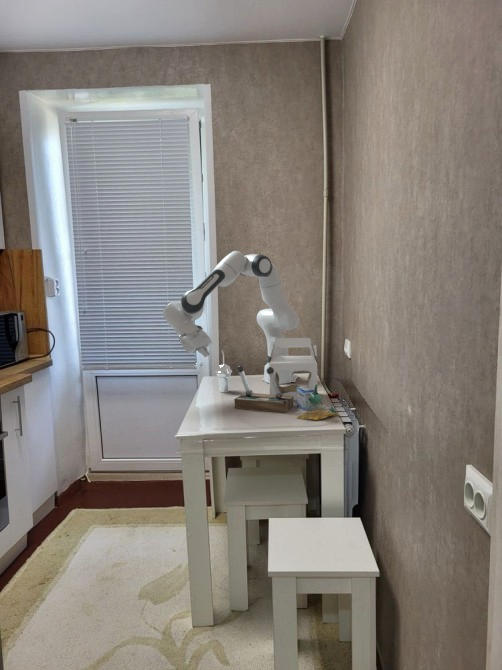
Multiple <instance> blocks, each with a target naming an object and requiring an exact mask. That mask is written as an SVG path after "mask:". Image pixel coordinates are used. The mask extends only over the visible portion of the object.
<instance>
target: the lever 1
mask: <svg viewBox="0 0 502 670" xmlns="http://www.w3.org/2000/svg"><path fill="white" fill-rule="evenodd" d="M244 370H245V367H244V366H243V365H237V367H236V371H237V373H238V374H239V375H240V378H241V382H242V384H243V387H244V388H243V389H244V390H245V392H244V393H245V394H246V396H248V397H249V396H251V395H252V394H253V393H254V392H253V390H251V388H250V385H249V382H248V380H247V376H246V374H245V371H244Z"/></svg>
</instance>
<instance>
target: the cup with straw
mask: <svg viewBox="0 0 502 670" xmlns="http://www.w3.org/2000/svg"><path fill="white" fill-rule="evenodd" d="M221 354H222V363H220V364H219V365H218V366H217V367H216V370H215V374H216V378H217V381H218V388H219V392H220V393H228V392H230V381H231V380H230V379H231V375H232V373H233V369H231V367H230V365H228V364H226V363H225V352H224V351H223V349H221Z"/></svg>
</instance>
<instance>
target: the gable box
mask: <svg viewBox="0 0 502 670" xmlns="http://www.w3.org/2000/svg"><path fill="white" fill-rule="evenodd" d="M277 348H288V349H291V348H292V349H293V348H295V349H297V348H298V349H299V348H300V349H301V348H303V349H309V352H310V354H309V355H290V356H276V349H277ZM269 356H272V357H271V358H270V362H269V367H272V368H273V369H274V372H273V373H274V375H275V378H276V381H277V384H278V387H279V389H280V392H281V393H282V394H283V396H293V401H297V387H301V385H297V384H291V385H285V386H281V385H280V384H279V376H278V373H277V371H279V370H290V371H294V372H301V371H302V372H303V371H307V372H309V374H308V377H307V383H308V384H307V385H306V387H308V388H310V389H312V390H314V389H315V385H316V384H317V385H318V360H317V357H318V351H317V344H313V343H312V340H311V338H310V337H285V338H276V339H275V344H274V346H272V345H270V351H269ZM268 384H269V386H268V387H269V394H270V395H276V392H275V390H274V387H273V384H272V381H271V379H270V376H269V383H268Z"/></svg>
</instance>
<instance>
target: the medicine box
mask: <svg viewBox="0 0 502 670" xmlns="http://www.w3.org/2000/svg"><path fill="white" fill-rule="evenodd" d="M300 386H301V385H300ZM310 391H312V392H310ZM313 392H314V390H312V389H310V388H308V387H307V385H305V386H304V385H303V386H301V387H297V400H296V406H297V407H298V408H300V409H302V410H303V411H305V412H307V411H308V410H309V411H311V410H312V411H314V410H315V406H314V405H313V404H311V403H310V401H309V400H308V398H309V397H310V394H311V393H313ZM306 402H308V403H306ZM309 403H310V404H309ZM312 405H313V406H314V407H313V406H312ZM309 406H312V407H313V408H312V407H311V408H309Z"/></svg>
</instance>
